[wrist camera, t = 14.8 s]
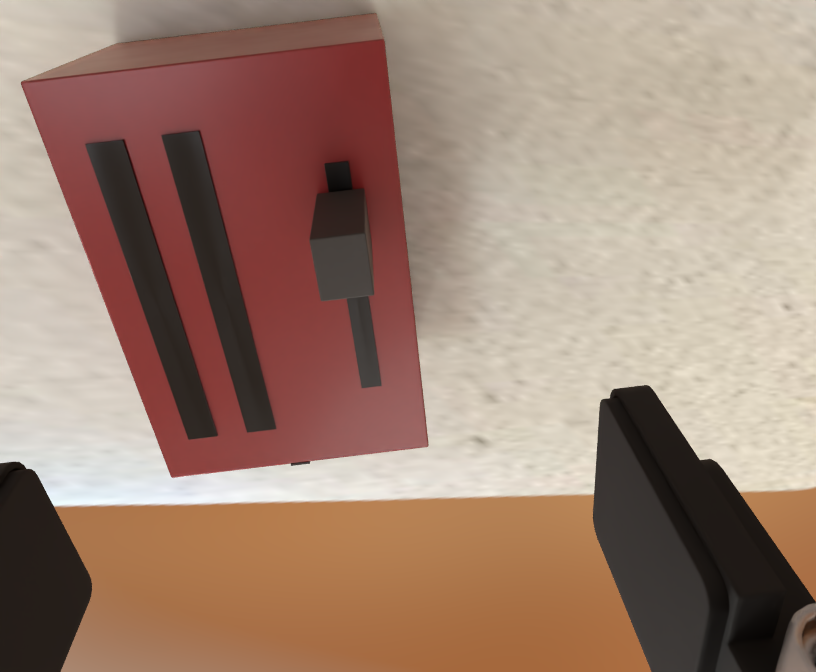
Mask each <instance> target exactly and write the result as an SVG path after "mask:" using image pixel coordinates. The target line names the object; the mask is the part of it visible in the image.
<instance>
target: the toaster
mask: <svg viewBox="0 0 816 672" xmlns="http://www.w3.org/2000/svg"><path fill="white" fill-rule="evenodd" d="M21 85H22V88H23V90H24V93H25V96H26V98H27V101H28V103H29V106H30V109H31V111H32V114H33V116H34V119H35V122H36V124H37V127H38V130H39V132H40V135H41V137H42V140H43V143H44V145H45V148H46V150H47V153H48V156H49V158H50V161H51V164H52V166H53V169H54V171H55V174H56V177H57V179H58V182H59V184H60V187H61V190H62V192H63V195H64V198H65V200H66V203H67V205H68V208H69V211H70V213H71V216H72V218H73V221H74V224H75V226H76V229H77V232H78V234H79V237H80V239H81V242H82V245H83V247H84V250H85V253H86V255H87V258H88V260H89V263H90V266H91V268H92V271H93V273H94V276H95V279H96V281H97V284H98V287H99V289H100V292H101V294H102V297H103V300H104V302H105V305H106V307H107V310H108V313H109V315H110V318H111V321H112V323H113V326H114V328H115V331H116V334H117V336H118V339H119V341H120V344H121V347H122V349H123V352H124V355H125V357H126V360H127V362H128V365H129V368H130V370H131V373H132V376H133V378H134V381H135V383H136V386H137V389H138V391H139V394H140V396H141V399H142V402H143V404H144V407H145V410H146V412H147V415H148V417H149V420H150V423H151V425H152V428H153V430H154V433H155V436H156V438H157V441H158V444H159V446H160V449H161V451H162V454H163V457H164V459H165V462H166V464H167V467H168V470H169V472H170V475H171V477H172V478H175V477H183V476H191V475H199V474H208V473H216V472H224V471H232V470H240V469H249V468H257V467H265V466H273V465H282V464H290V463H291V466H293V465H301V464H310V461H315V460H323V459H331V458H339V457H348V456H356V455H364V454H372V453H381V452H389V451H397V450H405V449H413V448H422V447H428V435H427V426H426V417H425V408H424V399H423V389H422V380H421V371H420V362H419V353H418V343H417V334H416V325H415V316H414V307H413V298H412V288H411V279H410V270H409V261H408V252H407V242H406V233H405V224H404V215H403V206H402V196H401V187H400V178H399V169H398V160H397V151H396V141H395V132H394V123H393V114H392V105H391V95H390V86H389V77H388V68H387V59H386V49H385V41H384V37H383V34H382V30H381V27H380V24H379V20H378V17H377V14H376V13H373V14H364V15H356V16H347V17H339V18H330V19H322V20H313V21H305V22H296V23H288V24H279V25H271V26H262V27H254V28H245V29H237V30H228V31H220V32H211V33H202V34H194V35H185V36H177V37H168V38H160V39H151V40H143V41H134V42H126V43H117V44H114V45H111V46H109V47H106V48H104V49H101V50H99V51H96V52H94V53H91V54H89V55H86V56H84V57H81V58H79V59H76V60H74V61H71V62H69V63H66V64H64V65H61V66H59V67H56V68H54V69H51V70H49V71H46V72H44V73H41V74H39V75H36V76H34V77H32V78H29V79H27V80H24V81H22V82H21ZM361 188H363V189H364V190H365V197H366V204H367V211H368V218H369V225H370V233H371V240H372V256H373V276H374V295H372V296H364V297H355V298H347V299H339V300H330V301H321V300H320V294H319V289H318V284H317V279H316V273H315V268H314V263H313V258H312V252H311V247H310V242H309V239H310V233H311V227H312V220H313V214H314V208H315V202H316V196H317V194H319V193H328V192H336V191H344V190H353V189H361Z"/></svg>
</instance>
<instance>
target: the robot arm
mask: <svg viewBox="0 0 816 672" xmlns="http://www.w3.org/2000/svg"><path fill="white" fill-rule="evenodd" d="M593 522H594V528H595V532H596V535H597V538H598V541H599V543H600V546H601V548H602V551H603V553H604V555H605V558H606V561H607V563H608V565H609V568H610V570H611V573H612V575H613V578H614V580H615V583H616V585H617V588H618V590H619V593H620V595H621V597H622V600H623V602H624V605H625V607H626V610H627V612H628V615H629V617H630V619H631V622H632V625H633V627H634V630H635V632H636V634H637V637H638V639H639V642H640V644H641V647H642V649H643V652H644V654H645V657H646V659H647V662H648V664H649V666H650V669H651V671H652V672H816V602H815V600H814V599H813V597H812V596H811V595H810V593H809V592H808V590H807V589H806V588H805V586H804V585H803V583H802V582H801V581H800V579H799V577H798V576H797V575H796V573H795V572H794V570H793V569H792V568H791V566H790V565H789V563H788V562H787V560H786V559H785V557H784V556H783V555H782V553H781V552H780V550H779V549H778V548H777V546H776V545H775V543H774V542H773V540H772V539H771V537H770V536H769V535H768V533H767V532H766V530H765V529H764V527H763V526H762V525H761V523H760V522H759V520H758V519H757V517H756V516H755V515H754V513H753V512H752V510H751V509H750V507H749V506H748V505H747V503H746V502H745V500H744V499H743V497H742V496H741V495H740V493H739V492H738V490H737V489H736V487H735V486H734V485H733V483H732V482H731V480H730V479H729V477H728V476H727V475H726V473H725V472H724V470H723V469H722V468H721V467H720V466H719V464H718V463H717V462H715V461H713V460H711V459H707V460H699V458H698V457H697V455H696V454H695V452H694V451H693V449H692V448H691V446H690V445H689V443H688V442H687V440H686V439H685V437H684V436H683V434H682V433H681V431H680V430H679V428H678V427H677V425H676V424H675V422H674V421H673V419H672V418H671V416H670V415H669V413H668V412H667V410H666V409H665V407H664V406H663V404H662V403H661V401H660V400H659V398H658V397H657V395H656V394H655V392H654V391H653V389H652V388H651V387H650V386H648V385H644V386H635V387H627V388H619V389H614V390H612V392H611V395H610V399H603V400H601V402H600V411H599V427H598V443H597V459H596V475H595V491H594V507H593ZM91 592H92V583H91V578H90V576H89V574H88V571H87V570H86V568H85V566H84V564H83V562H82V560H81V558H80V556H79V554H78V552H77V550H76V548H75V547H74V545H73V543H72V541H71V539H70V537H69V535H68V533H67V531H66V529H65V527H64V525H63V524H62V522H61V520H60V518H59V516H58V514H57V512H56V510H55V508H54V506H53V504H52V502H51V501H50V499H49V497H48V495H47V493H46V491H45V489H44V487H43V485H42V483H41V481H40V479H39V478H38V476H37V474H36V473H35V471H33V470H32V469H26V468H25V466H24V465H23V464H21V463H20V462H8V463H0V672H61V669H62V667H63V664H64V661H65V659H66V657H67V654H68V652H69V650H70V647H71V644H72V642H73V640H74V637H75V635H76V632H77V630H78V627H79V625H80V623H81V620H82V618H83V615H84V613H85V610H86V608H87V606H88V603H89V601H90V597H91Z"/></svg>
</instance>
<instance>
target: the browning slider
mask: <svg viewBox="0 0 816 672" xmlns="http://www.w3.org/2000/svg"><path fill="white" fill-rule="evenodd" d="M309 242H310V247H311V252H312V258H313V263H314V268H315V273H316V279H317V284H318V289H319V294H320V300H321V301H330V300H339V299H347V298H355V297H364V296H372V295H374V276H373V256H372V240H371V233H370V225H369V218H368V211H367V204H366V197H365V190H364V189H363V188H361V189H353V190H344V191H336V192H328V193H319V194H317V196H316V202H315V208H314V214H313V220H312V227H311V233H310V239H309Z"/></svg>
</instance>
